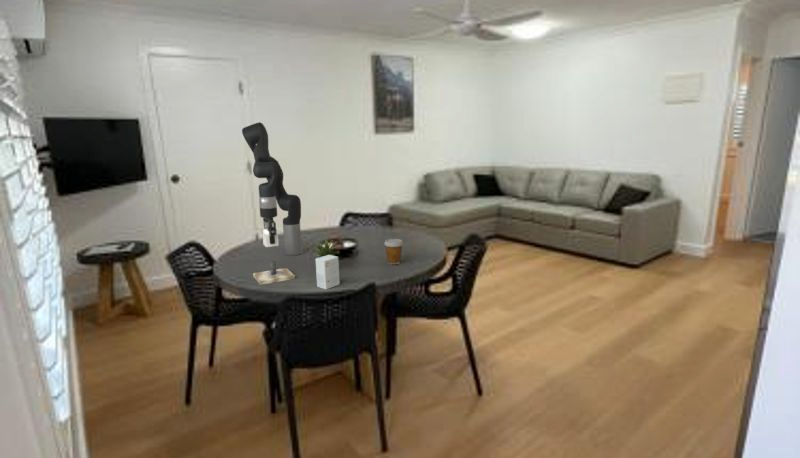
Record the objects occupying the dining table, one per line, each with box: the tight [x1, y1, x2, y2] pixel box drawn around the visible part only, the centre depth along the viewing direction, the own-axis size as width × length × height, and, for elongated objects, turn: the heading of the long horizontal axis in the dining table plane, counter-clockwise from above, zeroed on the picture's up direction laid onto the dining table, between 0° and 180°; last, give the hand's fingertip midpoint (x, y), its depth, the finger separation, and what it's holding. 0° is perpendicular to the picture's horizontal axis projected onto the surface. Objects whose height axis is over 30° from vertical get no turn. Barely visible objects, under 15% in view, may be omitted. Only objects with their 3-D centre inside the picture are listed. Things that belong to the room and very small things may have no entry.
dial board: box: [252, 261, 296, 286], centre depth 209 cm, size 16×14×8 cm
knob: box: [262, 228, 279, 248], centre depth 205 cm, size 6×6×8 cm
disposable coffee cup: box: [383, 238, 404, 263], centre depth 228 cm, size 10×10×12 cm
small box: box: [315, 254, 340, 290], centre depth 196 cm, size 8×6×13 cm
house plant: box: [315, 238, 341, 258], centre depth 214 cm, size 14×14×16 cm
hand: (270, 242), depth 206 cm, fingers closed on knob, 6 cm apart
